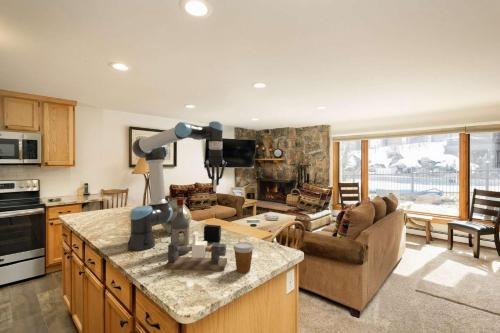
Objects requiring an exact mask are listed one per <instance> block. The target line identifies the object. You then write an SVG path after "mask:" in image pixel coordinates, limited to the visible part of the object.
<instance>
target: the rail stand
mask: <svg viewBox="0 0 500 333" xmlns="http://www.w3.org/2000/svg"><path fill="white" fill-rule="evenodd" d="M178 251H189V252H192V246H189V247H181V246H178V241H172V242H171V241H170V243H169V244H168V245H167V262H166V263H165V269H166V270H167V269H168V270H192V271H193V270H194V271H221V272H222V271H223V272H224V271H225V269H226V266H227V264H228V258H227V257H225V256H226V254H227V243H220V242H218V243H215V242H214V243H213V242H212V244H211V246H207V247H205V251H206V252H207V253H210V255H211V256H210V257H205V258H195V257H192V256H178Z"/></svg>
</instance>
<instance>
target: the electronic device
mask: <svg viewBox="0 0 500 333" xmlns="http://www.w3.org/2000/svg"><path fill="white" fill-rule="evenodd" d="M221 229H222V226H221V225H219V224H218V225H217V224H206V225H204V226H203V241H207V243H212V244H213V243H214V242H215V243H220V241H222V230H221Z"/></svg>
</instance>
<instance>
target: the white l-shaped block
mask: <svg viewBox="0 0 500 333" xmlns="http://www.w3.org/2000/svg"><path fill="white" fill-rule="evenodd" d="M191 238H192V239H191V240H192V241H191V242H192V245H191V247H192V251H191V257H195V258H206V256H207V254H208V252H206V251H205V247H208V242H207V241H204V240H199V231H197V230H196V231H194V232H193V233H192V237H191Z"/></svg>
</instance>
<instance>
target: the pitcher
mask: <svg viewBox="0 0 500 333" xmlns="http://www.w3.org/2000/svg"><path fill="white" fill-rule="evenodd" d="M177 199H178V198H171V197H170V196H165V200H166V201H168V205H170V206H171V208H172V211H173V214H172V217H171V219H170V220H169V221H168V222H165V223H163V224H160V225H161V227H162V228H163V229H164V230H166V233H168V234H171V222H172V221H173V220H174V219H175V217H176V216H177ZM183 199H184V202H185V201H186V200H187V199H188V197H185V198H183ZM183 215H184V217H185V219H186V220H187V221H188V222H189V224H191V221H192V213H191V211H190V210H189V209H188V208H187V207H186V205H185V204H184V205H183Z"/></svg>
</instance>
